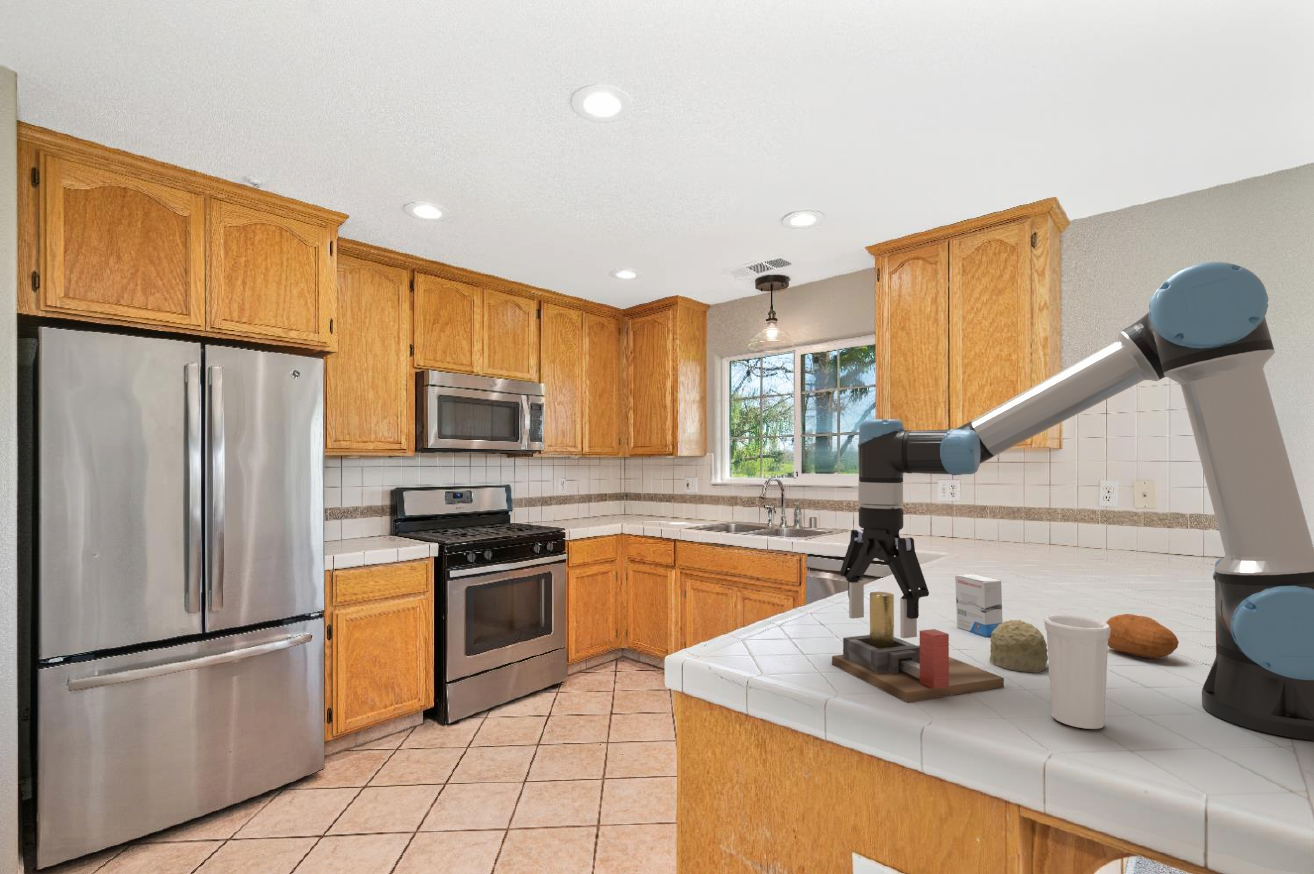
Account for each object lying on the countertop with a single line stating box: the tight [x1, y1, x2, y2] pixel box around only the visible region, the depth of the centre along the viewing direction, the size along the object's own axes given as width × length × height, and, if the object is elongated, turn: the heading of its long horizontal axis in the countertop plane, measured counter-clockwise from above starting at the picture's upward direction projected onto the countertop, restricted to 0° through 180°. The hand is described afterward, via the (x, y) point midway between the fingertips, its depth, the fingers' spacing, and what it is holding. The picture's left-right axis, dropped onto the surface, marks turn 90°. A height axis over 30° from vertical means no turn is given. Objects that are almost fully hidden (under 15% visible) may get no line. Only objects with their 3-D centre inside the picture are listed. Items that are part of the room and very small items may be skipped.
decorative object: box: [989, 619, 1049, 673], centre depth 117 cm, size 9×10×10 cm
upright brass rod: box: [869, 591, 895, 649], centre depth 112 cm, size 4×4×12 cm
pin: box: [899, 628, 950, 689], centre depth 104 cm, size 10×3×8 cm, turn 20°
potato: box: [1105, 613, 1180, 659], centre depth 122 cm, size 9×11×8 cm
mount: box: [831, 634, 1005, 703], centre depth 110 cm, size 19×20×5 cm
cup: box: [1043, 614, 1111, 730], centre depth 91 cm, size 8×8×14 cm
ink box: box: [955, 573, 1004, 638], centre depth 139 cm, size 9×5×12 cm, turn 17°
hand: (881, 626), depth 112 cm, fingers open, 13 cm apart
